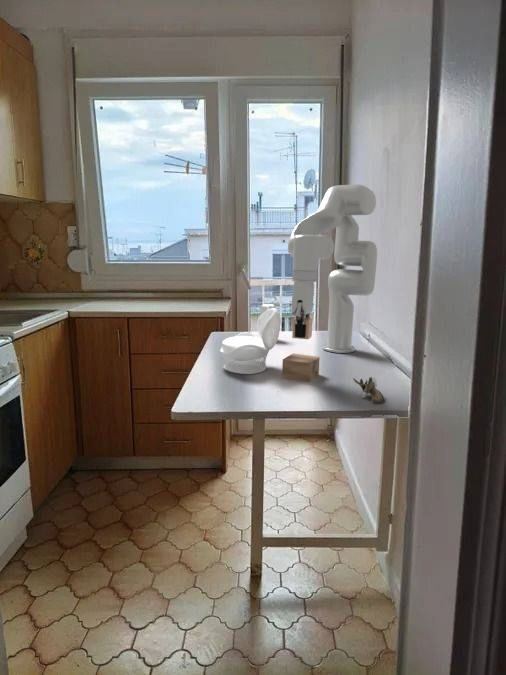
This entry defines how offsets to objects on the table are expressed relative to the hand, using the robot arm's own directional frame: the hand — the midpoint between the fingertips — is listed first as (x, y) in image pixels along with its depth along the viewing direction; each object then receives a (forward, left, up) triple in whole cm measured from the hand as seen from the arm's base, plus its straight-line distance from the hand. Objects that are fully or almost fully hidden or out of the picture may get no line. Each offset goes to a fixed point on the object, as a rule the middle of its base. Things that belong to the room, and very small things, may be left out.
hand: (302, 335), depth 138 cm
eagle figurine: (+13, +22, -14) cm, 29 cm away
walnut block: (0, 0, -14) cm, 14 cm away
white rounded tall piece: (-48, -26, -13) cm, 56 cm away
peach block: (0, 0, -1) cm, 1 cm away
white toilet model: (-3, -18, -14) cm, 23 cm away
